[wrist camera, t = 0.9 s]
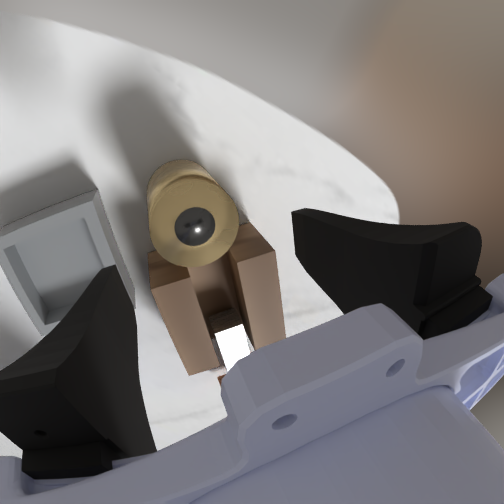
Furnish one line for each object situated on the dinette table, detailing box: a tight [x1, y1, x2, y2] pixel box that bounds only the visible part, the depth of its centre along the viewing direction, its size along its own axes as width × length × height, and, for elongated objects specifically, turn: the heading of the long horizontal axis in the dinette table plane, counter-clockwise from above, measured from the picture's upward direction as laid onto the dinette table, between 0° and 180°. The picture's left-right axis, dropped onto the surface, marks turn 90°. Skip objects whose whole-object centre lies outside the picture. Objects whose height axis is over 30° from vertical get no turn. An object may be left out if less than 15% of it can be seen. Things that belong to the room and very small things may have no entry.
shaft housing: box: [147, 223, 286, 376], centre depth 22 cm, size 8×8×5 cm
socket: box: [0, 189, 136, 336], centre depth 18 cm, size 8×8×2 cm
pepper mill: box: [147, 160, 239, 267], centre depth 17 cm, size 4×4×6 cm
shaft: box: [209, 308, 250, 386], centre depth 24 cm, size 4×10×4 cm, turn 9°
